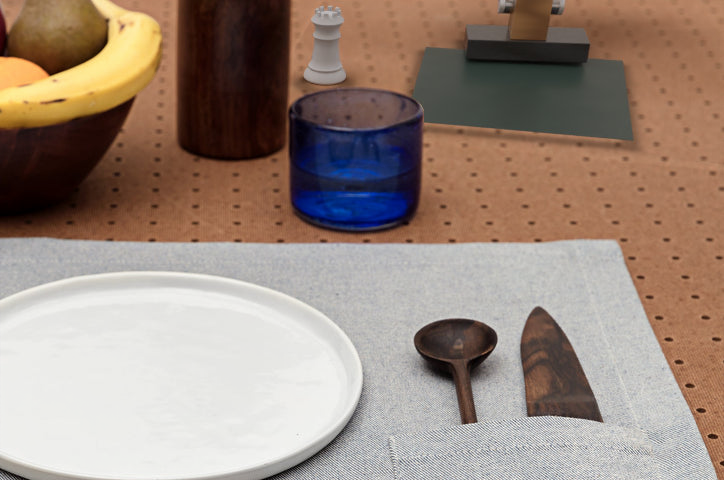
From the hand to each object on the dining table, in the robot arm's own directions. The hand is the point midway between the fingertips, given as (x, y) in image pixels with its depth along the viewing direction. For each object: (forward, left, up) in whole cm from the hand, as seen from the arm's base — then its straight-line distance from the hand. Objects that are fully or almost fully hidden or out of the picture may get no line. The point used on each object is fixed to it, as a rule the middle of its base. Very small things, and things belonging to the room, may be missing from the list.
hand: (531, 11), depth 109 cm
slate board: (0, +9, -6) cm, 11 cm away
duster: (0, 0, -4) cm, 4 cm away
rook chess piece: (+19, +10, -6) cm, 22 cm away
